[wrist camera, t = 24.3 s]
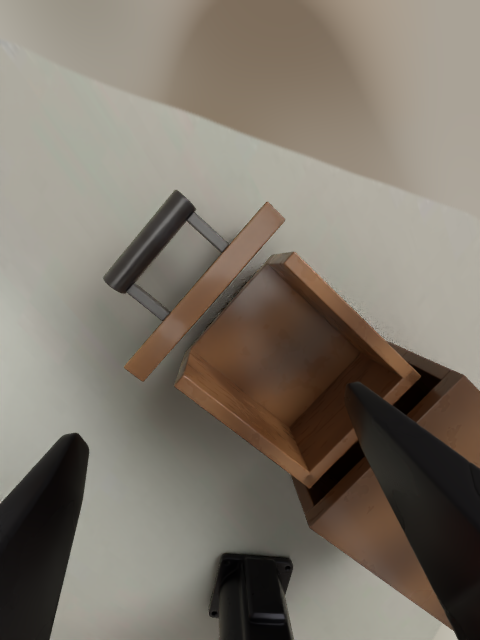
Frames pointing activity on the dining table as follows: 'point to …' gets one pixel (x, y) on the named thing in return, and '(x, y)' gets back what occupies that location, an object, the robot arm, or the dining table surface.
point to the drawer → (263, 343)
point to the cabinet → (368, 497)
